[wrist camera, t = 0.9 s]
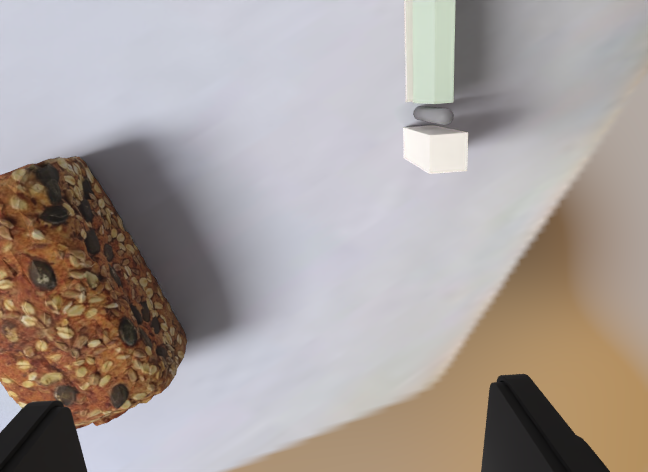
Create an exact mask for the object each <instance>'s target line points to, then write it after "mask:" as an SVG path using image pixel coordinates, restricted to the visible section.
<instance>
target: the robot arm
mask: <svg viewBox="0 0 648 472" xmlns="http://www.w3.org/2000/svg"><path fill="white" fill-rule="evenodd" d="M0 472H87V469H86V465H85V461H84V457H83V454H82V450H81V446H80V442H79V439H78V435H77V431H76V427H75V424H74V420H73V416H72V412H71V410H70V409H69V408H68V407H64V405H63V403H62V402H61V401H58V400H54V401H37V402H30V403H28V404H27V405H25V406H24V407H23V408H22V410H21V411H20V412H19V413H18V414H17V415H16V416H15V417H14V418H13V419H12V421H11V422H10V423H9V424H8V425H7V426H6V427H5V428H4V429H3V430H2V432H1V433H0ZM481 472H610V471H609V470H608V468H607V467H606V466H605V465H604V464H603V462H602V461H601V460H600V459H599V457H598V456H597V455H596V454H595V452H594V451H593V450H592V449H591V448H590V446H589V445H588V444H587V443H586V442H585V441H584V440H583V439H582V438H581V437H579V436H577V435H575V433H574V432H573V431H572V430H571V428H570V427H569V426H568V425H567V423H566V422H565V421H564V420H563V418H562V417H561V416H560V415H559V413H558V412H557V411H556V410H555V408H554V407H553V406H552V405H551V403H550V402H549V401H548V400H547V398H546V397H545V396H544V395H543V393H542V392H541V391H540V390H539V388H538V387H537V386H536V385H535V383H534V382H533V381H532V380H531V378H530V377H529V376H528V375H526V374H516V375H501V376H499V377H498V379H497V382H495V383H491V385H490V390H489V400H488V410H487V420H486V430H485V440H484V449H483V459H482V470H481Z"/></svg>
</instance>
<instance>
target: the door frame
mask: <svg viewBox="0 0 648 472" xmlns="http://www.w3.org/2000/svg"><path fill="white" fill-rule="evenodd" d="M404 15H405V92H406V102H413V3H412V0H404ZM403 133H404V159H406V160H408V161H409V162H411V163H413V164H414V165H416V166H417V167H419V168H421V169H422V170H424V171H426V172H427V173H429V174H435V173H448V172H460V171H467V154H468V132H464V131H459V130H455V129H450V128H445V127H440V126H436V125H428V126H416V127H403Z"/></svg>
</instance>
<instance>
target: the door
mask: <svg viewBox="0 0 648 472" xmlns="http://www.w3.org/2000/svg"><path fill="white" fill-rule="evenodd" d="M412 3H413V103H423V104H441V103H453V95H454V45H455V0H412ZM413 115H414V117H415V118H416V119H417V120H422V121H427V122H432V123H437V124H442V125H447V124H449V123H451V122H452V120H453V117H454V115H453V112H452V111H451V110H450V109H448V108H435V107H421V106H420V107H417V108H416V109H415V110H414V113H413Z"/></svg>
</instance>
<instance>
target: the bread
mask: <svg viewBox="0 0 648 472" xmlns="http://www.w3.org/2000/svg"><path fill="white" fill-rule="evenodd" d="M186 343H187V339H186V335H185V332H184V330H183V328H182V327H181V325H180V323H179V322H178V321H177V319H176V317H175V315H174V313H173V312H172V310H171V308H170V305H169V303H168V301H167V299H166V298H165V297H164V296H162V292H161V289H160V287H159V285H158V283H157V280H156V279H155V278H154V277H153V275H152V274H151V270H150V269H149V268H147V266H146V263H145V261H144V259H143V257H141V255H140V252H139V250H138V248H137V247H136V246H135V244H134V243H133V240H132V237H131V235H130V234H129V233H128V232H126V231H125V230H124V228H123V223H122V220H121V218H120V217H119V215H118V214H117V212H116V210H115V208H114V207H113V205H112V203H111V201H110V199H109V198H108V197H107V195H106V194H105V192H104V191H103V189H102V187H101V185H100V184H99V182H98V181H97V180H96V179H95V177H94V176H93V175H92V174H91V172H90V170H89V168H88V166H87V164H86V163H85V161H83V160H82V159H81V158H80V157H76V156H75V157H70V158H60V157H58V158H54V159H48V160H45V161H42V162H40V163H37V164H28V165H26V166H23V167H21V168H18V169H15V170H13V171H11V172H8V173H5V174H2V175H0V382H1V383H2V385H3V386H4V388H5V389H6V390H7V392H8V394H9V396H10V397H12V398H13V399H14V400H15V401H16V403H17V404H19V405H20V406H21V407H22V408H23V407H24V406H25V405H27V404H28V403H30V402H37V401H54V400H58V401H61V402H62V403H63V405H64V407H68V408H69V409H70V410H71V412H72V416H73V420H74V424H75V427H76V429H77V428H81V427H84V426H87V425H89V424H91V423H92V422H93V423H94V424H95V425H96V426H98V425H101V424H104V423H108V422H109V421H111V420H112V419H114V418H117V417H119V416H120V415H122V414H123V413H125V412H126V411H127V410H128V409H130V408H133V407H135V406H136V405H137V404H139V403H147V402H148V401H149V400H151V399H152V397H153V396H154V395H157V394H159V393H161V392H162V391H163V390H165V389H166V388H167V387H168V386H169V385H170V383H171V381H172V380H173V378H174V376H175V375H176V372H177V368H178V366H179V365H180V363H181V361H182V359H183V358H184V354H185V349H186Z"/></svg>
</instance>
